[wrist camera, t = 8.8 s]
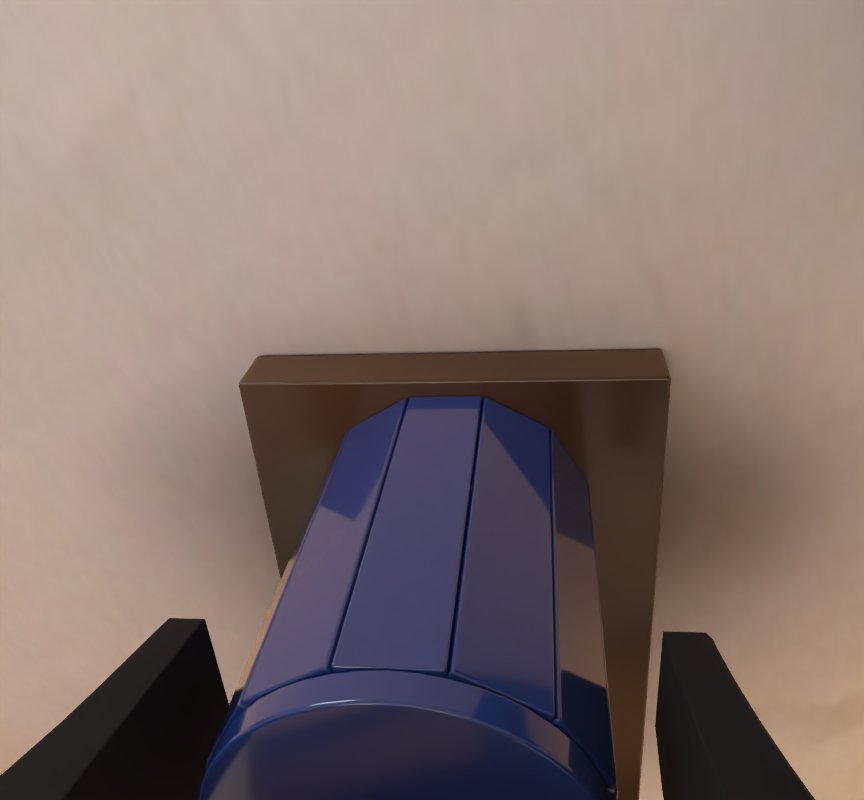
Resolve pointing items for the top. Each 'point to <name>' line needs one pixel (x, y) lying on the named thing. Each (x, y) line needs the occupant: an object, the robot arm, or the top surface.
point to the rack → (532, 397)
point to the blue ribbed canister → (431, 625)
